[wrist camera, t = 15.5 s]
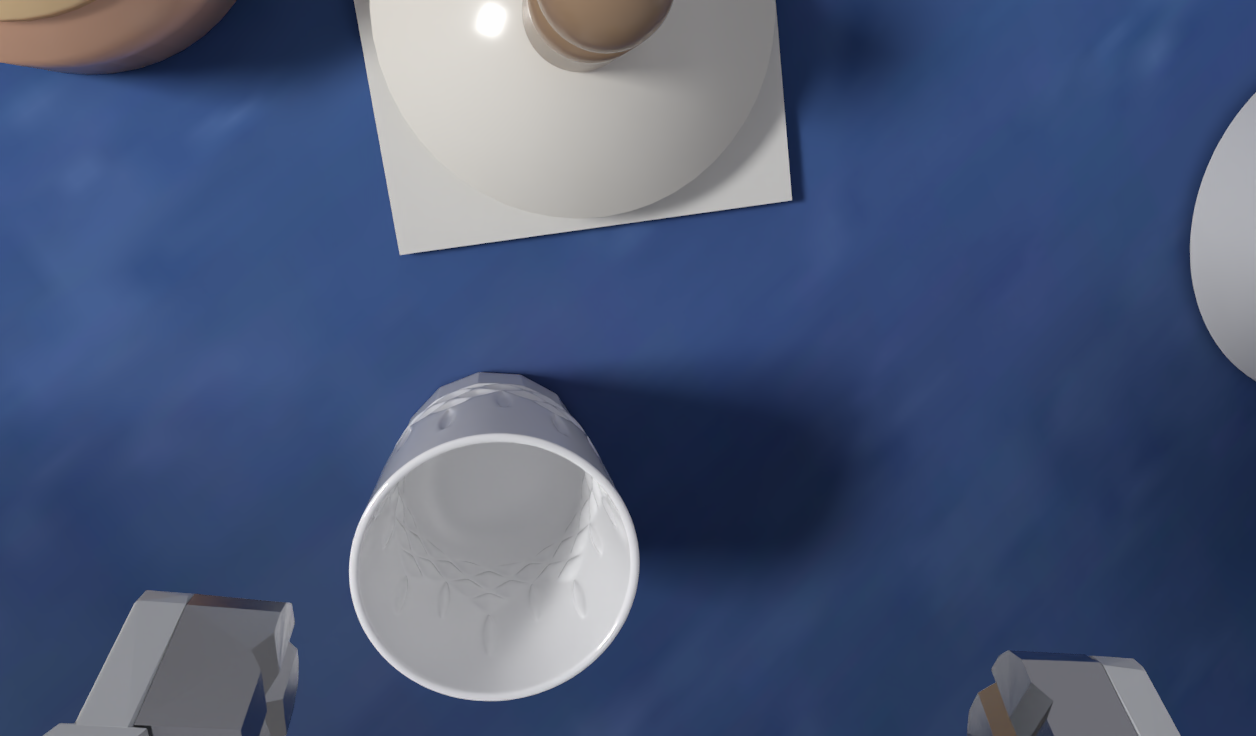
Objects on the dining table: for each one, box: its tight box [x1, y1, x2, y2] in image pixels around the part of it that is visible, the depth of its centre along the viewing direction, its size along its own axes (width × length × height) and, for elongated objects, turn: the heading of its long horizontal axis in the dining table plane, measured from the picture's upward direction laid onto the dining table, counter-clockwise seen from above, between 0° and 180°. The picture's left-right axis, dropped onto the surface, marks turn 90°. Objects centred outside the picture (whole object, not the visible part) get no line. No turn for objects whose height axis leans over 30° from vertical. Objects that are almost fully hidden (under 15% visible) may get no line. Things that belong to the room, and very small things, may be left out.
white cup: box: [349, 372, 639, 701], centre depth 31 cm, size 8×8×10 cm
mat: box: [354, 0, 792, 255], centre depth 33 cm, size 14×14×1 cm
